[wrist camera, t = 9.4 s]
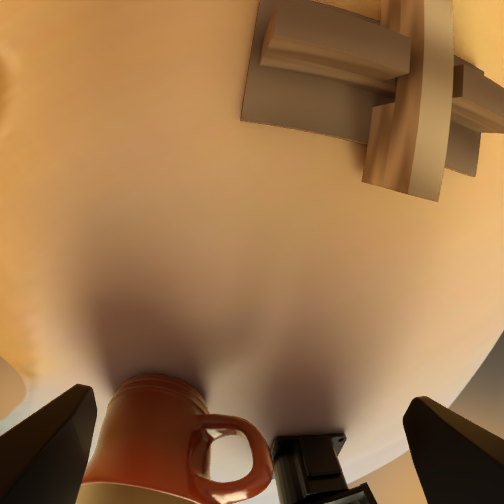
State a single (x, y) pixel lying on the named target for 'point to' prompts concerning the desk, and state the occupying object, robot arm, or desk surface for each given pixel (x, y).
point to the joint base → (351, 78)
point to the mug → (167, 449)
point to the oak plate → (415, 103)
